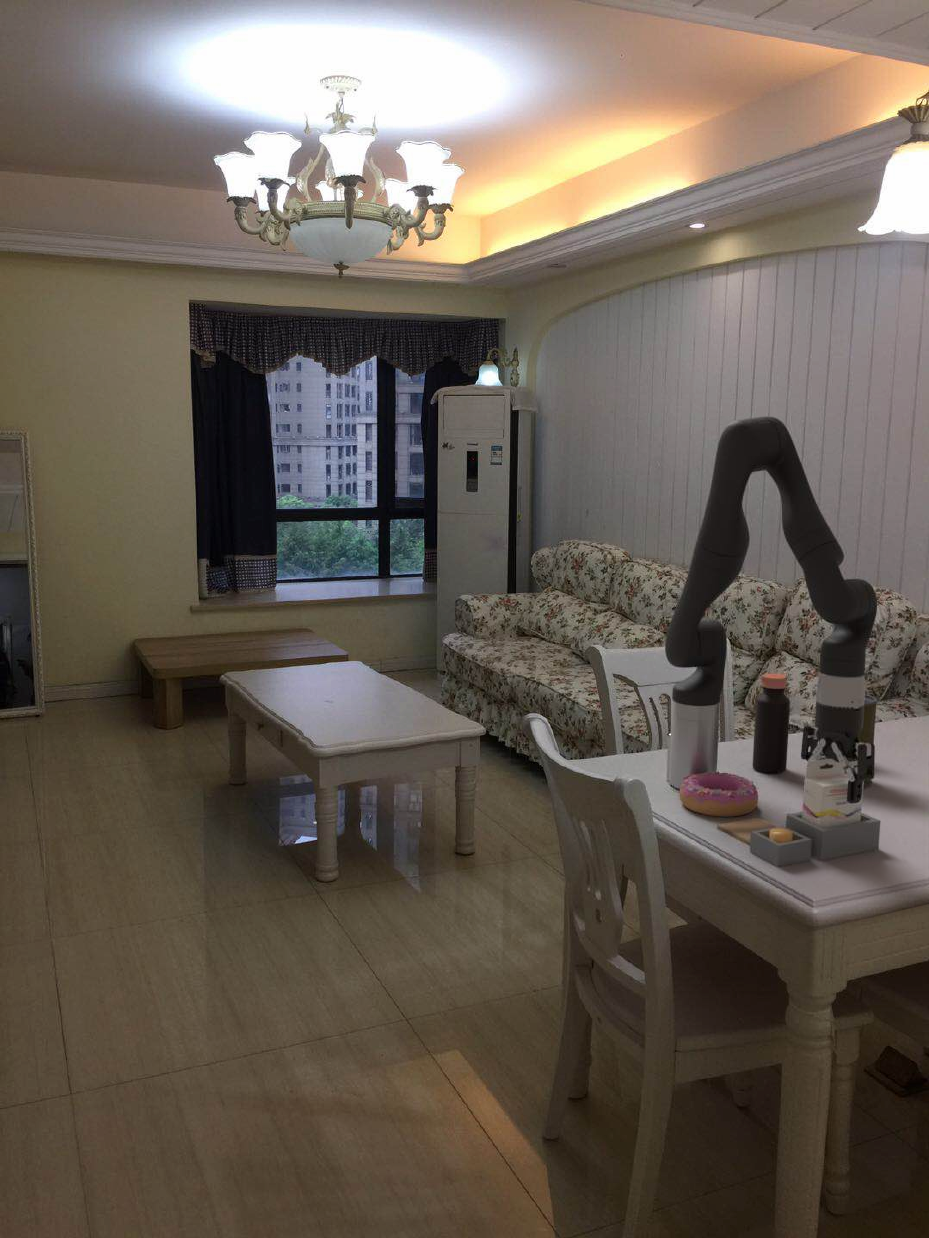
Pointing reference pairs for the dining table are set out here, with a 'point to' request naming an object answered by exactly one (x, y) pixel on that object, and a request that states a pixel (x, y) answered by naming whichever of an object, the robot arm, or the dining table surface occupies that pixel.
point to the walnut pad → (744, 828)
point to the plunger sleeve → (780, 847)
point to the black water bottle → (771, 726)
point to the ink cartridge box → (828, 796)
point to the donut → (718, 794)
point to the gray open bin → (837, 836)
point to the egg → (780, 835)
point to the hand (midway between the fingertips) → (834, 794)
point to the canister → (866, 729)
